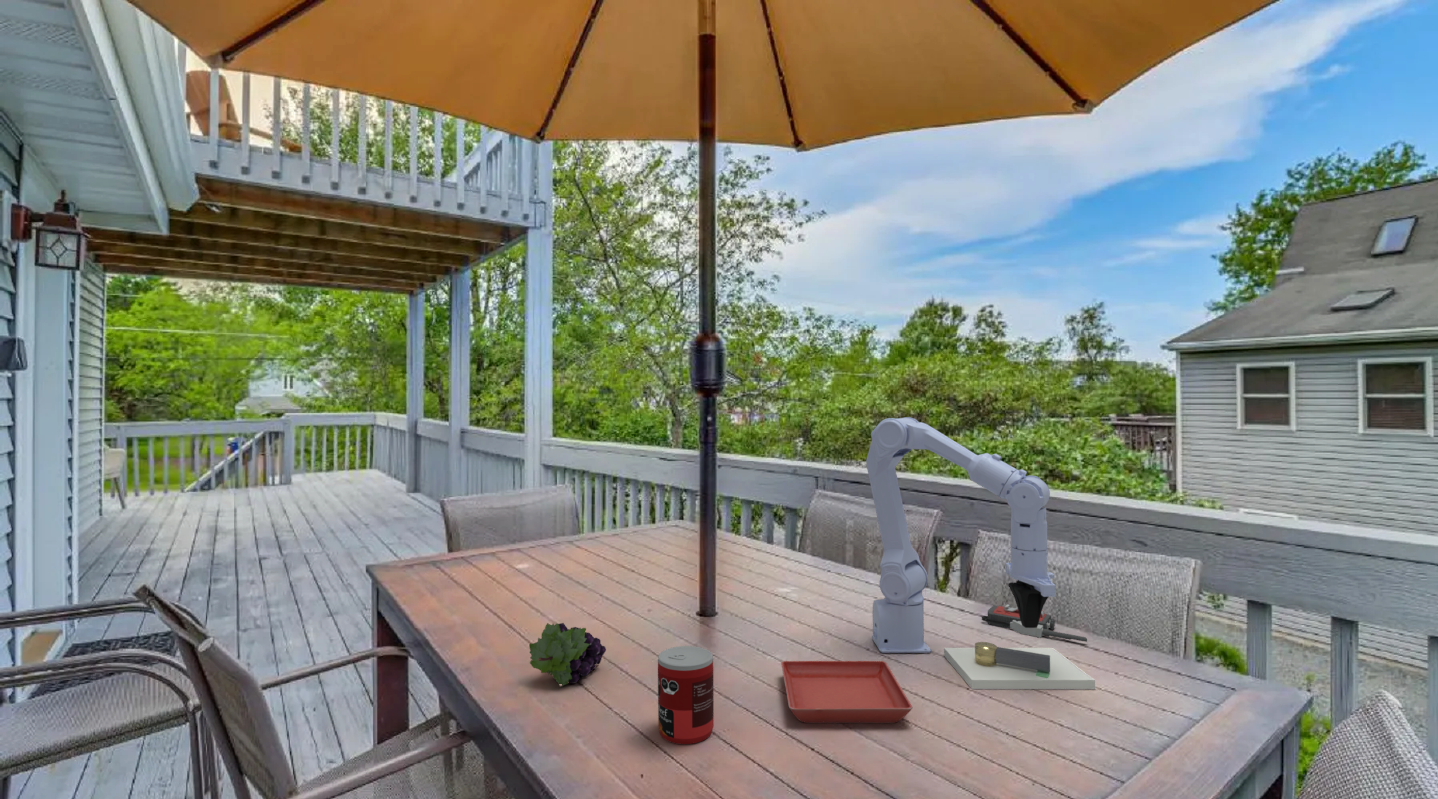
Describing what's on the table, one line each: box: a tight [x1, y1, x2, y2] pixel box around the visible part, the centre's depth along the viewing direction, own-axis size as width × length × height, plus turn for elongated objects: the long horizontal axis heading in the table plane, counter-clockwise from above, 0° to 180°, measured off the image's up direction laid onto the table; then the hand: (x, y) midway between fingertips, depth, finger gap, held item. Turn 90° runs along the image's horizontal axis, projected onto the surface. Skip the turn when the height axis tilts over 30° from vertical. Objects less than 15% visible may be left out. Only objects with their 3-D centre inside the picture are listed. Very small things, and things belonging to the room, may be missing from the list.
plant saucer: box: [780, 660, 913, 724], centre depth 103 cm, size 18×18×3 cm
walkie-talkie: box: [981, 604, 1088, 643], centre depth 134 cm, size 9×4×20 cm
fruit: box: [529, 622, 607, 686], centre depth 113 cm, size 10×10×15 cm
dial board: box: [943, 647, 1096, 690], centre depth 114 cm, size 20×14×2 cm
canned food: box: [657, 645, 715, 745], centre depth 94 cm, size 8×8×11 cm
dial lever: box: [974, 641, 1050, 672], centre depth 112 cm, size 12×4×3 cm, turn 61°
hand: (1029, 626), depth 112 cm, fingers closed
